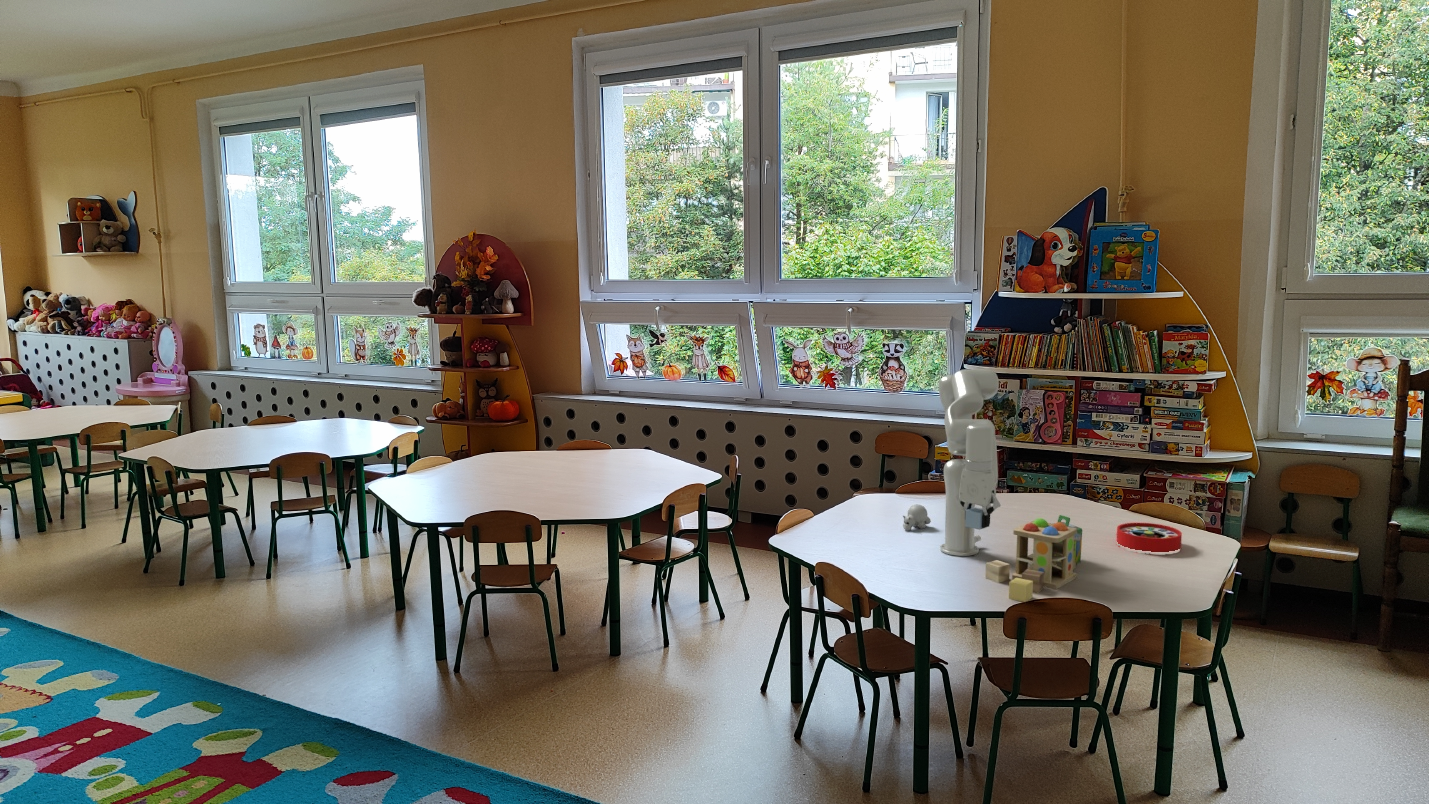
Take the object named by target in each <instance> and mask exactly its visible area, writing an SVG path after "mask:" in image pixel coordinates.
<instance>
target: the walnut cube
mask: <svg viewBox="0 0 1429 804" xmlns="http://www.w3.org/2000/svg"><path fill="white" fill-rule="evenodd" d="M1022 579H1025V580H1030V581H1033V593H1037V594H1038V593H1040V592H1041V591H1042V590H1043V589H1044V588H1045V587H1044V572H1041V571H1035V570H1029V569H1027V570H1026V571H1024V572H1023V573H1022Z"/></svg>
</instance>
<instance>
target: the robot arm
mask: <svg viewBox="0 0 1429 804" xmlns="http://www.w3.org/2000/svg"><path fill="white" fill-rule="evenodd" d="M999 384H1000V382H999V378H998V374H997V373H996V371H994V370H992V369H988V368H987V369H986V368H983V369H981V368H979V369H978V368H976V369H975V368H974V369H972V368H967V369H961V370H960V369H959V370H958V371H956V372H954V374H949V375H944V376H943V377H941V378H940V380H939V381H938V393H939V399H940V402H941V404H942V407H943V410H944V413H945V415H944V428H945V429H944V430H945V434H946V444H947V450H948V452H949V454H951V455H954V456H965V458H955V459H950V460H948V461H947V462H946V463H944V465H943V466H944V467H943V480H944V485H945V487H944V488H945V523H944V525H945V534H944V535H945V537H944V543H943V544H941V545H940V547H939V548H940V551H941V552H942V553H944V554H946V555H951V556H957V557H968V556H974V555H977V554H978V553H979V552H980V551H979V547H978V546H977V545H976V544H977V542H980V541H981V540H982V536H980V535H976V536H975V529H974V528H970V527H966V526H965V513H966V510H967V509H970V508H974V507H976V505H977V506H981V508H982V509H983V513H984V514H983V515H982V528H983V529H987V528H988V527H990V524H991V514H993V512H995V511H996V510H997V509H999V508H1000V507H1001V503H1000V502H999V499H998V498H997V488H996V485H997V483H998V478H999V473H998V472H999V467H998V466H999V465H998V450H997V449H998V448H997V445H998V444H997V438H996V428H995V427H996V426H995V425H994V424H993V422H992V421H991V420H990V419H986V418H984V419H983V418H981V419H980V418H979V419H978V418H976V419H974V418H973V415H975V414H977V413H979V412H980V411H981V409H982V408H983V406H984V400H989V399H991V398H993V397H994V396H995V395H996V394H997V393H998V391H999V386H1000V385H999ZM991 504H993V505H991Z"/></svg>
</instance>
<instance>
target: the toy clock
mask: <svg viewBox="0 0 1429 804" xmlns="http://www.w3.org/2000/svg"><path fill="white" fill-rule="evenodd" d="M1182 534H1183V532H1181V531H1180V530H1179V529H1177V528H1175V527H1172V526H1169V525H1164V524H1159V523H1153V522H1152V523H1151V522H1127V523H1122V524H1119V525H1117V528H1116V541H1117V542H1118V544H1120V545H1122V546H1124V547H1128V548H1130V549H1135V550H1142V551H1151V552H1169V551H1175V550H1178V549H1180V548H1181V549H1182V538H1183V537H1182Z"/></svg>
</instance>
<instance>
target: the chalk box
mask: <svg viewBox="0 0 1429 804" xmlns="http://www.w3.org/2000/svg"><path fill="white" fill-rule="evenodd" d="M1062 520H1064V521H1065V522H1064V521H1062ZM1057 522H1061V523H1064V524H1065V525H1066V526H1067V527H1073V528H1077V534H1075V535H1074V554H1073V559H1074V560H1075V563H1076V564H1077V562H1080V563H1081V561H1082V560H1081V559H1082V543H1083V542H1082V540H1083V529H1082V528H1081V527H1079V526H1076V525H1074V524H1071V523H1070V522H1071V518H1070V517H1069V516H1067V515H1066V516H1065V515H1062V514H1059V515H1058V519H1057ZM1055 523H1056V522H1054V523H1052V524H1055ZM1056 556H1059V555H1056ZM1055 565H1056V563H1055Z"/></svg>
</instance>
